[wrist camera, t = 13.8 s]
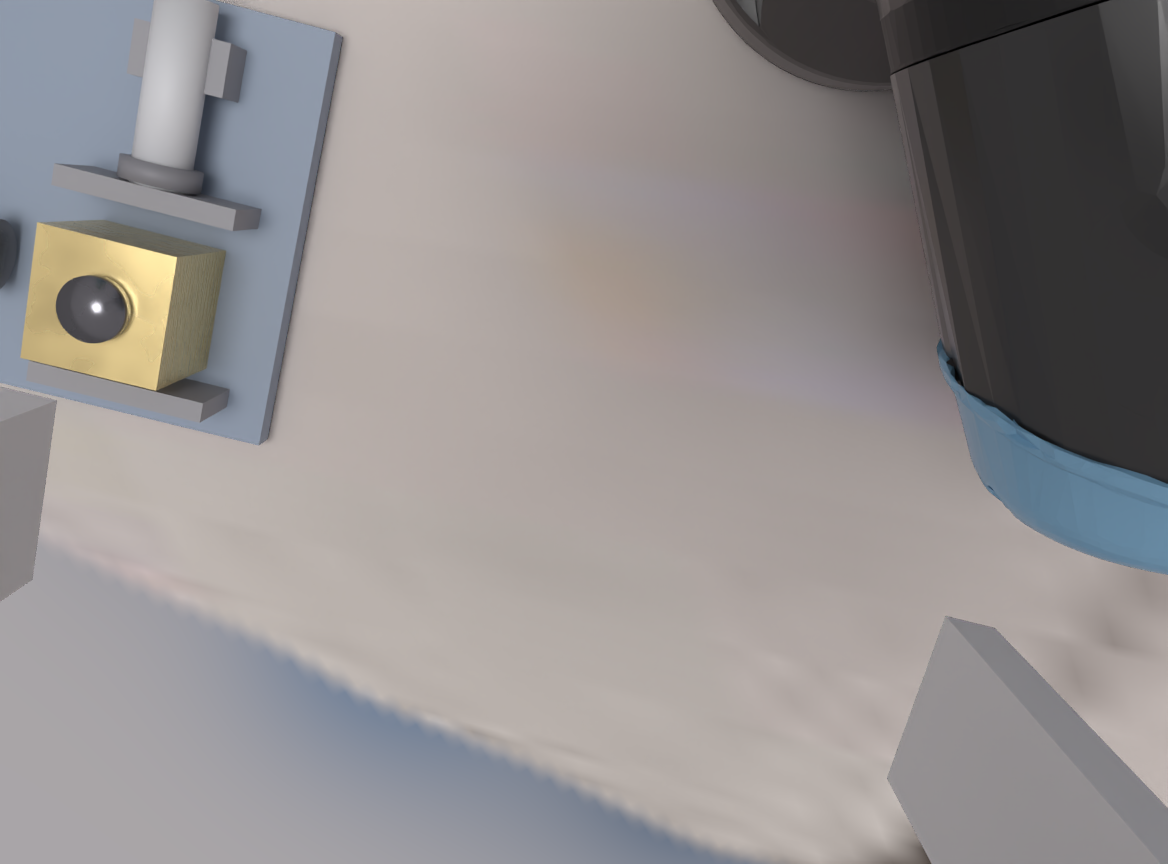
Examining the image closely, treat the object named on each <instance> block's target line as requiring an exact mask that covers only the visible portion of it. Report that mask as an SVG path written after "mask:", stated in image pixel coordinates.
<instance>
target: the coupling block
mask: <svg viewBox="0 0 1168 864" xmlns="http://www.w3.org/2000/svg"><path fill="white" fill-rule="evenodd" d="M225 256H226V250H222V249H218V248H214V247H210V246H206V245H202V244H198V243H194V242H190V241H186V240H182V239H178V238H174V237H170V236H166V235H163V234H159V233H155V232H151V231H147V230H143V229H139V228H135V227H131V226H127V225H123V224H119V223H115V222H111V221H107V220H83V221H58V222H37V228H36V236H35V244H34V252H33V260H32V268H31V276H30V284H29V292H28V300H27V308H26V316H25V324H24V332H23V340H22V348H21V355H20V358H23V359H27V360H31V361H35V362H40V363H44V364H48V365H52V366H56V367H60V368H64V369H68V370H72V371H77V372H81V373H85V374H89V375H93V376H97V377H101V378H105V379H109V380H114V381H118V382H122V383H126V384H130V385H134V386H138V387H142V388H146V389H151V390H155V391H157V390H159V389H161V388H164V387H166V386H168V385H170V384H173V383H175V382H177V381H179V380H182V379H184V378H186V377H188V376H191V375H193V374H195V373H197V372H200V371H202V370H204V369H207V363H208V357H209V351H210V345H211V339H212V333H213V327H214V321H215V315H216V309H217V303H218V297H219V291H220V286H221V280H222V274H223V268H224V262H225Z"/></svg>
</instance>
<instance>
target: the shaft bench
mask: <svg viewBox="0 0 1168 864" xmlns="http://www.w3.org/2000/svg"><path fill="white" fill-rule="evenodd" d="M342 39H343V37H341V36H340V35H339V34H337V33H336V32H332V31H328V30H325V29H321V28H317V27H313V26H310V25H306V24H302V23H298V22H295V21H291V20H287V19H283V18H280V17H276V16H272V15H268V14H265V13H261V12H257V11H253V10H250V9H246V8H242V7H238V6H235V5H231V4H227V3H224V2H220V1H216V0H0V383H4V384H8V385H12V386H16V387H20V388H24V389H29V390H33V391H37V392H41V393H45V394H49V395H53V396H57V397H61V398H66V399H70V400H74V401H78V402H82V403H86V404H90V405H94V406H99V407H103V408H107V409H111V410H115V411H119V412H123V413H127V414H131V415H136V416H140V417H144V418H148V419H152V420H156V421H160V422H164V423H169V424H173V425H177V426H181V427H185V428H189V429H193V430H197V431H201V432H206V433H210V434H214V435H218V436H222V437H226V438H230V439H234V440H239V441H243V442H247V443H251V444H255V445H260V444H261V443H263V442H264V441H265V440H267V439H268V434H269V429H270V423H271V418H272V413H273V407H274V402H275V397H276V391H277V386H278V381H279V375H280V370H281V365H282V359H283V354H284V349H285V343H286V338H287V333H288V327H289V322H290V316H291V311H292V306H293V300H294V295H295V290H296V284H297V279H298V274H299V268H300V263H301V258H302V252H303V247H304V242H305V236H306V231H307V226H308V220H309V215H310V210H311V204H312V199H313V194H314V188H315V183H316V178H317V172H318V167H319V162H320V156H321V151H322V146H323V140H324V135H325V130H326V124H327V119H328V113H329V108H330V103H331V97H332V92H333V87H334V81H335V76H336V71H337V65H338V60H339V55H340V49H341V44H342ZM83 220H107V221H111V222H115V223H119V224H123V225H127V226H131V227H135V228H139V229H143V230H147V231H151V232H155V233H159V234H163V235H166V236H170V237H174V238H178V239H182V240H186V241H190V242H194V243H198V244H202V245H206V246H210V247H214V248H218V249H222V250H226V256H225V262H224V268H223V274H222V280H221V286H220V291H219V297H218V303H217V309H216V315H215V321H214V327H213V333H212V339H211V345H210V351H209V357H208V363H207V369H204V370H202V371H200V372H197V373H195V374H193V375H191V376H188V377H186V378H184V379H182V380H179V381H177V382H175V383H173V384H170V385H168V386H166V387H164V388H161V389H159V390H157V391H155V390H151V389H146V388H142V387H138V386H134V385H130V384H126V383H122V382H118V381H114V380H109V379H105V378H101V377H97V376H93V375H89V374H85V373H81V372H77V371H72V370H68V369H64V368H60V367H56V366H52V365H48V364H44V363H40V362H35V361H31V360H27V359H23V358H20V355H21V348H22V340H23V332H24V324H25V316H26V308H27V300H28V292H29V284H30V276H31V268H32V260H33V252H34V244H35V236H36V228H37V222H58V221H83Z"/></svg>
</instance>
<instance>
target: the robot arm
mask: <svg viewBox="0 0 1168 864" xmlns="http://www.w3.org/2000/svg"><path fill="white" fill-rule="evenodd" d="M713 1H714V3H715V5H716V6H717V8H718V9H719V11H720V12H721V14H722V15H723V17H724V18H725V19H726V21H727V22H728V23H729V24H730V26H731V27H732V28H733V29H734V30H735V31H736V33H737V34H738V35H739V36H740V37H741V38H742V39H743V40H744V41H745V42H746V43H747V44H748V45H749V46H751V47H752V48H753V49H754V50H755V51H756V52H758V53H759V54H760V55H762V56H763V57H764V58H766V59H767V60H768V61H770V62H771V63H773V64H775V65H776V66H778V67H780V68H781V69H783V70H785V71H787V72H789V73H791V74H793V75H795V76H797V77H800V78H802V79H805V80H807V81H810V82H813V83H817V84H820V85H824V86H828V87H832V88H838V89H845V90H855V91H880V90H891V89H893V94H894V100H895V105H896V110H897V115H898V120H899V125H900V130H901V136H902V141H903V146H904V151H905V156H906V161H907V167H908V172H909V177H910V182H911V187H912V192H913V197H914V203H915V208H916V213H917V218H918V223H919V228H920V233H921V239H922V244H923V249H924V254H925V259H926V264H927V269H928V275H929V280H930V285H931V290H932V295H933V300H934V305H935V311H936V316H937V321H938V326H939V331H940V336H941V338H940V341H939V343H938V346H937V353H938V358H939V365H940V368H941V371H942V373H943V376H944V378H945V380H946V382H947V383H948V385H949V386H950V388H951V389H952V390H953V392H954V393H955V396H956V400H957V404H958V408H959V412H960V416H961V420H962V424H963V428H964V432H965V436H966V440H967V444H968V448H969V452H970V456H971V459H972V462H973V465H974V468H975V470H976V471H977V473H978V475H979V477H980V479H981V481H982V482H983V484H984V486H985V487H986V488H987V490H988V491H989V492H990V493H992V494H993V495H994V496H995V497H997V498H998V499H999V500H1000V501H1002V502H1003V504H1004V505H1005V507H1006V508H1008V509H1009V510H1010V511H1011V512H1012V514H1013V515H1014V516H1015V517H1016V518H1017V519H1019V520H1020V521H1021V522H1023V523H1024V524H1026V525H1027V526H1029V527H1030V528H1032V529H1034V530H1035V531H1037V532H1039V533H1041V534H1043V535H1045V536H1047V537H1048V538H1050V539H1052V540H1054V541H1056V542H1058V543H1061V544H1063V545H1065V546H1067V547H1070V548H1072V549H1075V550H1077V551H1080V552H1082V553H1085V554H1088V555H1091V556H1094V557H1096V558H1100V559H1103V560H1106V561H1109V562H1113V563H1117V564H1121V565H1124V566H1128V567H1133V568H1137V569H1141V570H1146V571H1150V572H1156V573H1161V574H1166V575H1168V0H713ZM56 403H57V400H54V399H49V398H45V397H41V396H37V395H33V394H29V393H25V392H21V391H16V390H12V389H8V388H4V387H1V388H0V601H2V600H3V599H5V598H6V597H8V596H9V595H11V594H12V593H13V592H15V591H16V590H18V589H19V588H21V587H22V586H24V585H25V584H27V583H28V582H29V581H31V580H32V578H33V570H34V564H35V557H36V550H37V542H38V535H39V528H40V520H41V513H42V506H43V498H44V491H45V484H46V476H47V469H48V462H49V454H50V447H51V440H52V432H53V425H54V418H55V410H56ZM887 779H888V781H889V783H890V785H891V787H892V789H893V791H894V793H895V794H896V796H897V798H898V800H899V802H900V804H901V806H902V808H903V810H904V812H905V814H906V815H907V817H908V819H909V821H910V823H911V825H912V827H913V829H914V831H915V833H916V835H917V837H918V838H919V840H920V842H921V844H922V846H923V848H924V850H925V852H926V854H927V856H928V858H929V859H930V861H931V863H932V864H1168V808H1167V807H1166V806H1165V805H1164V804H1163V803H1162V802H1161V801H1160V799H1159V798H1158V797H1157V796H1156V795H1155V794H1154V793H1153V792H1152V791H1151V790H1150V789H1149V788H1148V787H1147V786H1146V785H1145V784H1144V783H1143V782H1142V781H1141V780H1140V779H1139V778H1138V777H1137V776H1136V774H1135V773H1134V772H1133V771H1132V770H1131V769H1130V768H1129V767H1128V766H1127V765H1126V764H1125V763H1124V762H1123V761H1122V760H1121V759H1120V758H1119V757H1118V756H1117V755H1116V754H1115V753H1114V752H1113V751H1112V749H1111V748H1110V747H1109V746H1108V745H1107V744H1106V743H1105V742H1104V741H1103V740H1102V739H1101V738H1100V737H1099V736H1098V735H1097V734H1096V733H1095V732H1094V731H1093V730H1092V729H1091V728H1090V727H1089V726H1088V724H1087V723H1086V722H1085V721H1084V720H1083V719H1082V718H1081V717H1080V716H1079V715H1078V714H1077V713H1076V712H1075V711H1074V710H1073V709H1072V708H1071V707H1070V706H1069V705H1068V704H1067V703H1066V702H1065V701H1064V699H1063V698H1062V697H1061V696H1060V695H1059V694H1058V693H1057V692H1056V691H1055V690H1054V689H1053V688H1052V687H1051V686H1050V685H1049V684H1048V683H1047V682H1046V681H1045V680H1044V679H1043V678H1042V677H1041V676H1040V674H1039V673H1038V672H1037V671H1036V670H1035V669H1034V668H1033V667H1032V666H1031V665H1030V664H1029V663H1028V662H1027V661H1026V660H1025V659H1024V658H1023V657H1022V656H1021V655H1020V654H1019V653H1018V652H1017V651H1016V649H1015V648H1014V647H1013V646H1012V645H1011V644H1010V643H1009V642H1008V641H1007V640H1006V639H1005V638H1004V637H1003V636H1002V635H1001V634H1000V633H999V632H998V631H997V630H996V629H995V628H993V627H989V626H985V625H981V624H977V623H973V622H968V621H964V620H960V619H956V618H952V617H948V616H945V619H944V622H943V625H942V627H941V630H940V633H939V636H938V638H937V641H936V644H935V647H934V650H933V652H932V655H931V658H930V661H929V663H928V666H927V669H926V672H925V674H924V677H923V680H922V683H921V685H920V688H919V691H918V694H917V696H916V699H915V702H914V705H913V708H912V710H911V713H910V716H909V719H908V721H907V724H906V727H905V730H904V732H903V735H902V738H901V741H900V743H899V746H898V749H897V752H896V754H895V757H894V760H893V763H892V766H891V768H890V771H889V774H888V777H887Z"/></svg>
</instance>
